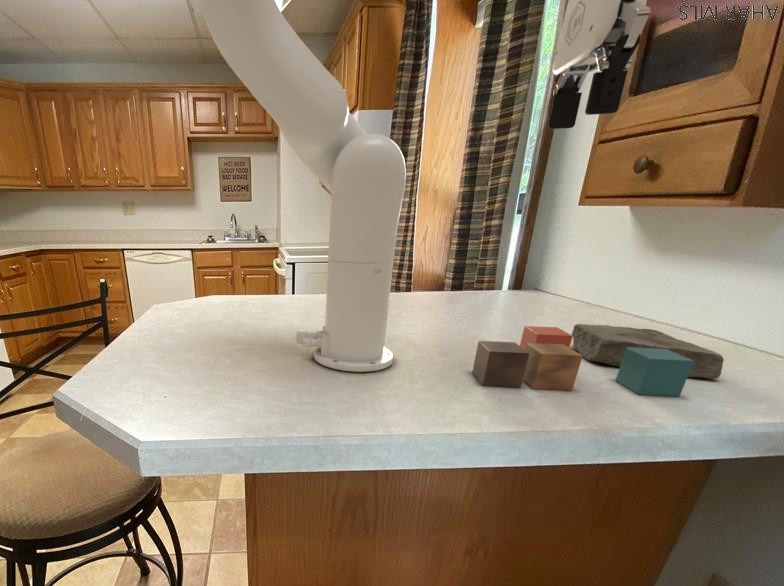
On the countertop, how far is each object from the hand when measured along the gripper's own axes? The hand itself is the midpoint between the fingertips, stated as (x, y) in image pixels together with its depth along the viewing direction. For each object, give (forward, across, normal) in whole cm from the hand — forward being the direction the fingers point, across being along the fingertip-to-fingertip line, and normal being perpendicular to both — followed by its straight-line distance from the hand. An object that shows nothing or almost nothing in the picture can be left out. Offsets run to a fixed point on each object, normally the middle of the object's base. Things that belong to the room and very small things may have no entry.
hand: (578, 121), depth 53 cm
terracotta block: (+33, -3, +4) cm, 33 cm away
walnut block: (+33, +7, -6) cm, 34 cm away
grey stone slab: (+34, -6, +18) cm, 39 cm away
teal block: (+33, +7, +13) cm, 36 cm away
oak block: (+33, +7, 0) cm, 33 cm away
